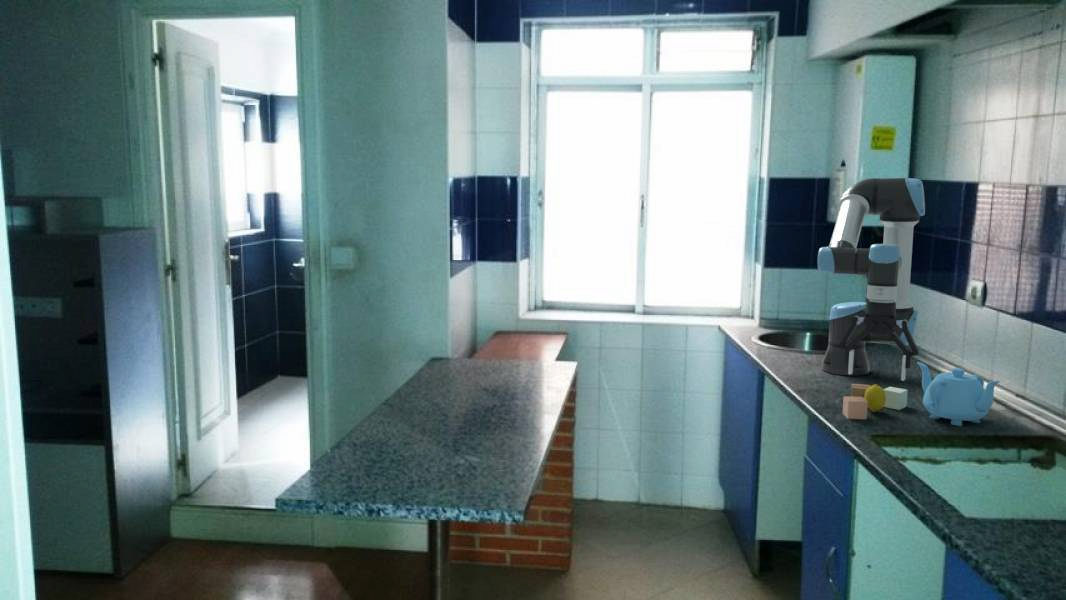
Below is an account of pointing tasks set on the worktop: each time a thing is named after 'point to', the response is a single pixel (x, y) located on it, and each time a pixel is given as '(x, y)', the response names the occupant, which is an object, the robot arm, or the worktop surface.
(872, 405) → the lemon
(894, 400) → the sage cube
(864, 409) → the terracotta cube
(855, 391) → the walnut cube
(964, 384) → the teapot
